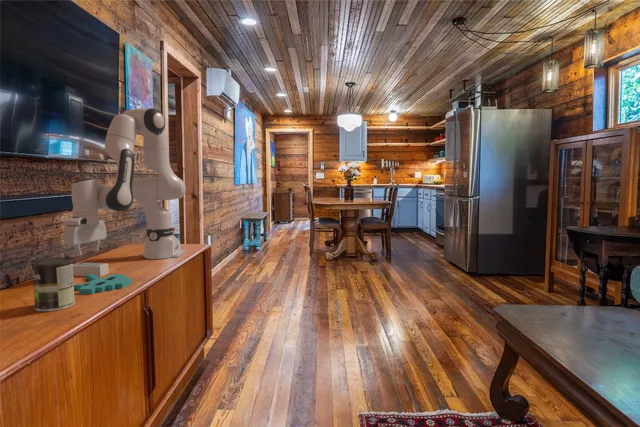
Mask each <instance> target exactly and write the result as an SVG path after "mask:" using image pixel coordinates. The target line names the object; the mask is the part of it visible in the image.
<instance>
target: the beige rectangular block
mask: <svg viewBox="0 0 640 427" xmlns="http://www.w3.org/2000/svg"><path fill="white" fill-rule="evenodd" d="M72 264H73V277H75V276H76V277H86V275H88V274H95V276H98V277H103V276H106V275H109V263H104V262H101V263H100V262H77V263H72Z"/></svg>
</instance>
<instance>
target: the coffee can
mask: <svg viewBox="0 0 640 427" xmlns="http://www.w3.org/2000/svg"><path fill="white" fill-rule="evenodd" d="M73 261H74V259H73V258H72V257H60V256H59V257H51V258H43V259H38V260H34V261H32V262H31V263H30V264H31V270H32V271H31V272H32V281H33V282H32V284H33V285H32V286H33V298H34V310H35V311H36V312H57V311H61V310H64V309H68V308H70V307H73V306H74V305H75V304H76V300H75V290H74V285H75V284H74V276H73V264H74V263H73Z"/></svg>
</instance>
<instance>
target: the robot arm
mask: <svg viewBox="0 0 640 427" xmlns="http://www.w3.org/2000/svg"><path fill="white" fill-rule="evenodd" d="M165 126H166V118H165V115H164V114H163V113H162V111H161V110H160V109H157V108H152V107H151V108H147V107H146V108H144V107H140V108H132V109H124V110H122V111H120V112H119V113H118V114H117V115H115V116H114V117H113V119H112V120H111V122H110V124H109V126H108V129H107V133H106V137H105V141H104V151H105V153H106V154H107V156H108V157H110V158H111V159H113V160H114V161H115V162H116V167H117V168H116V174H115V182H114V185H112V186H108V185H105V184H102V183H100V182H98V181H97V180H96V179H95V178H92V177H89V178H81V179H80V178H79V179H77V180H74V181H73V183H72V185H71V186H72V187H71V202H72V207H73V208H72V214H71V215H70V216H68V217H67V218H65V219H63V220H62V221H63V222H62V224H63V226H64V228H63V239H64V240H63V242H64V244H65V245H66V246H72V248H73V249H74V251H75V255H76V256H77V257H80V256H83V255H84V253H83V250H82V249H81V247H82V246H81V245H83V244H88V243H92V242H93V246H92V247H91V249H92V250H91V251H92V252H93V253H94V252H95V253H97V252H99V248H100V244H101V241H102V240H106V238H107V234H108V233H107V228H106V224H105V222H104V219H103V218H102V217H99V216H100V215H99V210H106V211H107V210H108V211H114V212H115V211H116V212H125V211H127V210H128V209H130V208H131V206H132V205H133V202H134V200H135V201H136V202H137V203H138V204H140V206H141V207H142V209H143V210H144V213H145V220H146V230H145V234H146V238H145V239H144V245H143V248H144V249H143V253H142V254H141V257H143V258H144V259H146V260H147V259H148V260H161V259H162V260H163V259H170V258H179V257H180V256H182V255H183V254H185V253H186V249H183V248H182V247H181V241H180V240H179V239H178V238H177V237H176V236H175V235H174V232H175V231H176V227H172V215H171V214H172V213H171V212H170V210H169V209H167V208H165V207H163V206H160V205H159V204H158V202H157V201H173V200H179V199H183V197H184V196H185V194H186V190H187V187H186V184H185V182H184V181H183V180H182V178H180V177H178V176H177V175H176V174H175V173H174V171H173V169H172V167H171V162H170V156H169V142H168V136H167V132H166V129H165ZM137 134H141V135H142V137H143V141H142V142H143V143H142V147H143V150H142V151H143V163H144V166H145V167H146V168H147V169H149V170H152V171H153V172H156V173H157V175H158V177H138V178H134V172H135V164H136V163H135V162H136V161H135V160H136V159H135V154H134V148H135V144H136V141H137V140H136V139H137Z"/></svg>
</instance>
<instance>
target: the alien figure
mask: <svg viewBox="0 0 640 427" xmlns="http://www.w3.org/2000/svg"><path fill="white" fill-rule="evenodd" d="M85 280H86V281H87V282H85V283H77V284H74V291H78V294H79V295H93V294H96V293H104V292H106V291H114V290H116V289H118V290H119V289H121V290H122V289H124V288H126V287H128V286H129V285H132V284H133V280H132V278H130V277H129V276H127V275H125V274H123V273H111V274H108V275H107V276H105V277H102V278H101V276H95V274H88V275H86V276H85Z"/></svg>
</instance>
